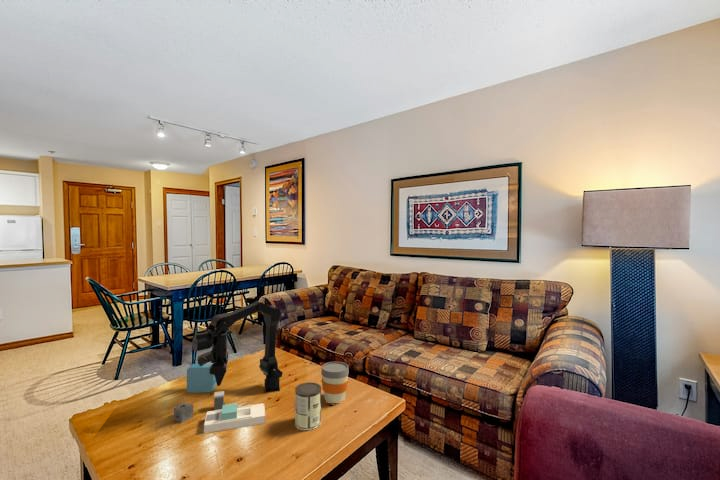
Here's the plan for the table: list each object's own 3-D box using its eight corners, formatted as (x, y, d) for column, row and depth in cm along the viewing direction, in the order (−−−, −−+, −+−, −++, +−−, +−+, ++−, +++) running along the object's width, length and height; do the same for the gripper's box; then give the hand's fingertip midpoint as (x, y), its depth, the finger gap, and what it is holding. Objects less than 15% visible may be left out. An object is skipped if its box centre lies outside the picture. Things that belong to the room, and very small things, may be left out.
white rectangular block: (224, 405, 142) (224, 391, 142) (223, 410, 139) (223, 395, 139) (214, 407, 141) (214, 392, 141) (213, 411, 137) (213, 396, 137)
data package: (216, 388, 158) (216, 363, 158) (212, 392, 154) (212, 367, 154) (190, 388, 158) (191, 363, 158) (186, 392, 153) (186, 367, 153)
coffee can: (302, 414, 137) (303, 380, 137) (325, 418, 134) (325, 384, 133) (289, 427, 127) (290, 391, 127) (313, 433, 124) (314, 396, 124)
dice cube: (185, 413, 136) (185, 401, 136) (193, 417, 133) (193, 404, 133) (173, 420, 131) (173, 407, 131) (181, 423, 129) (182, 410, 129)
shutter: (237, 408, 134) (237, 402, 134) (236, 417, 128) (236, 411, 128) (222, 410, 132) (222, 404, 132) (221, 420, 126) (221, 413, 126)
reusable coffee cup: (315, 403, 146) (316, 369, 146) (328, 390, 158) (329, 359, 157) (341, 409, 141) (341, 374, 141) (352, 396, 153) (353, 364, 153)
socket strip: (263, 410, 139) (263, 402, 139) (265, 423, 130) (265, 414, 130) (206, 419, 132) (207, 410, 132) (204, 433, 123) (204, 424, 122)
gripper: (201, 340, 146) (201, 375, 146) (195, 355, 128) (195, 394, 128) (228, 338, 149) (228, 372, 150) (226, 352, 132) (225, 390, 132)
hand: (219, 381), depth 140 cm, fingers open, 7 cm apart
